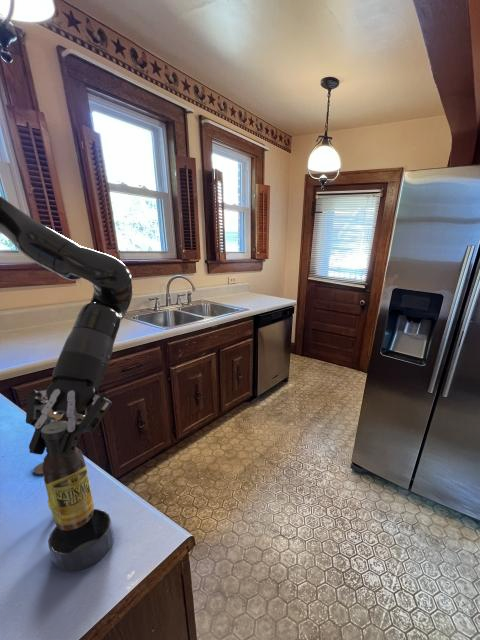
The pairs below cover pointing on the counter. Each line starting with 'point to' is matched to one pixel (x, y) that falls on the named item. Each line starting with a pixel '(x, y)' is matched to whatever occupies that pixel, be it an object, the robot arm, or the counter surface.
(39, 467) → the brown flat disc
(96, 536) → the pan
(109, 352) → the robot arm
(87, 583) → the counter surface
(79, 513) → the sauce bottle
